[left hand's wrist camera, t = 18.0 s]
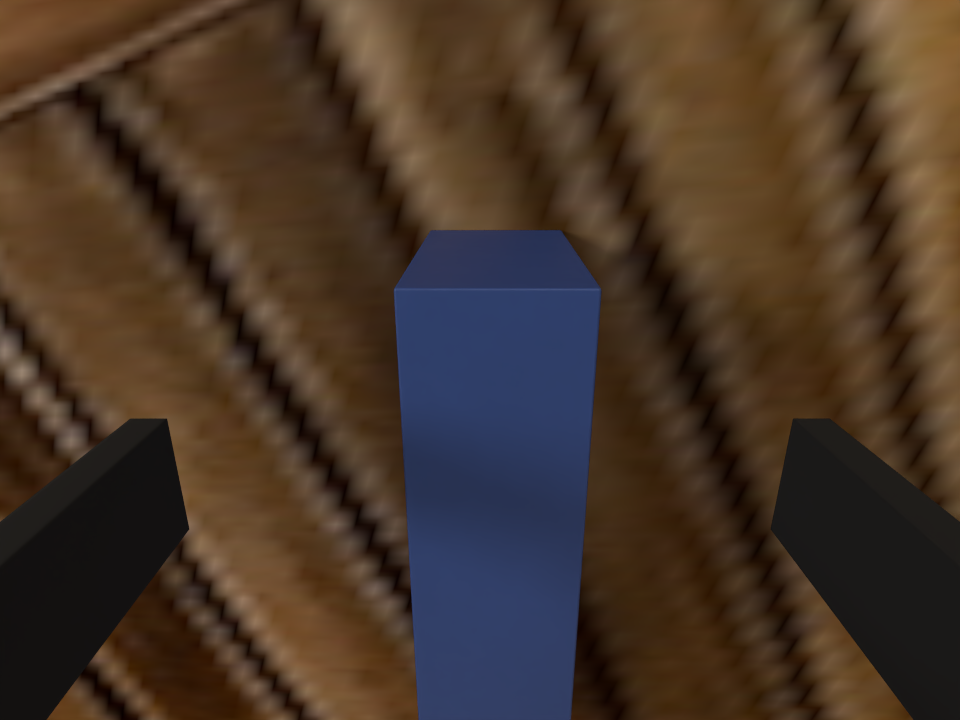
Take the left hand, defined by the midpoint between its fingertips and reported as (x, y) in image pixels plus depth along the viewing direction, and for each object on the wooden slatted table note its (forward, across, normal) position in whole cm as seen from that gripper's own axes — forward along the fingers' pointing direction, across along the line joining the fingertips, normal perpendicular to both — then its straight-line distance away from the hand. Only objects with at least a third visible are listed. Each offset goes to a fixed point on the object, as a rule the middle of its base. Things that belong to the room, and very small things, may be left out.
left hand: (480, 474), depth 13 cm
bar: (+11, +1, -8) cm, 14 cm away
